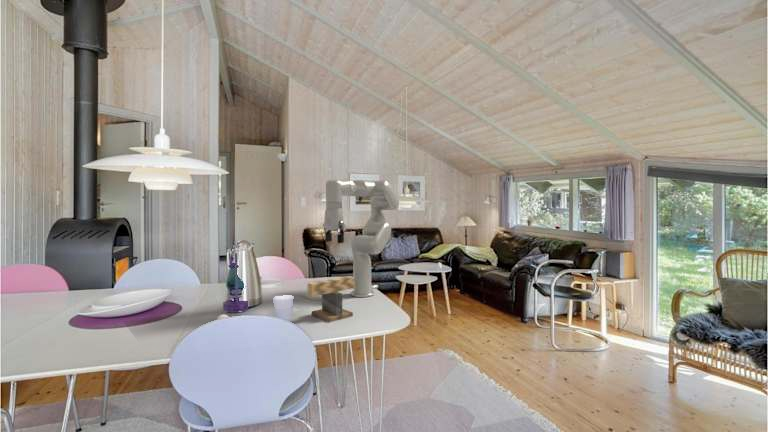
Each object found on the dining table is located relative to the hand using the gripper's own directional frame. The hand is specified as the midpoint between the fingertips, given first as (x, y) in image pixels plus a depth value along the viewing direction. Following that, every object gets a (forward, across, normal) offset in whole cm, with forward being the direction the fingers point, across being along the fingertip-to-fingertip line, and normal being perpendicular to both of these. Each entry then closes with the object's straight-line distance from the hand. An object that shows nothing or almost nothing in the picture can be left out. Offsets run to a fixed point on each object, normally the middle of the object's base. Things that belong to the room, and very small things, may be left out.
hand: (334, 242), depth 182 cm
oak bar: (+20, +13, -11) cm, 26 cm away
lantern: (+30, -24, -38) cm, 54 cm away
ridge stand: (+30, +13, -11) cm, 35 cm away
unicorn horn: (+31, +3, -49) cm, 58 cm away
